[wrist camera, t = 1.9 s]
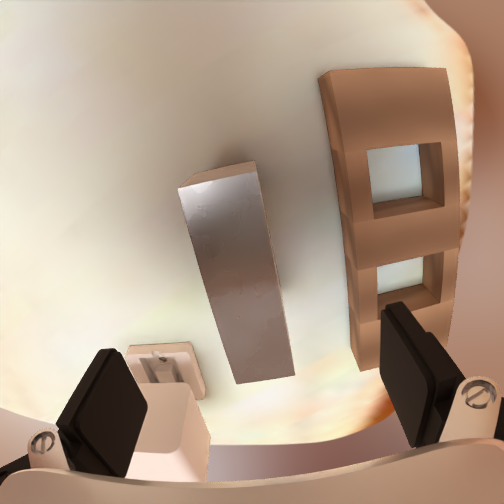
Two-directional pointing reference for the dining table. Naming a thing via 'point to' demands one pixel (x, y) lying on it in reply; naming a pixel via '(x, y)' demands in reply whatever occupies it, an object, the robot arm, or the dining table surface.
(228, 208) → the grey rectangular block
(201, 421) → the security camera
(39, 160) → the dining table surface
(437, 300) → the wooden frame
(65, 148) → the dining table surface
